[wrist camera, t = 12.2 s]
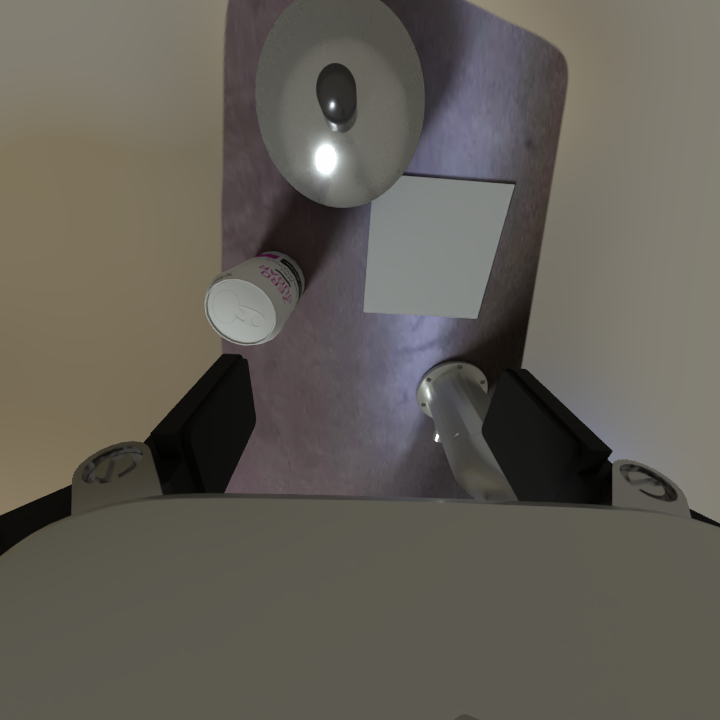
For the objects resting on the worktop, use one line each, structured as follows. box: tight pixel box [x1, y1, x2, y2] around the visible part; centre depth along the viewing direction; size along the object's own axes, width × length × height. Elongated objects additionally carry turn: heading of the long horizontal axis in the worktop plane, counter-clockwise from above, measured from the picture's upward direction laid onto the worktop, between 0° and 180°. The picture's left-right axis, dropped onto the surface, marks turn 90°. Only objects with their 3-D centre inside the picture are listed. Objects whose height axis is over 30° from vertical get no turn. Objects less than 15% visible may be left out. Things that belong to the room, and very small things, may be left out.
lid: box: [255, 0, 425, 208], centre depth 25 cm, size 16×16×6 cm
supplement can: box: [204, 251, 305, 345], centre depth 34 cm, size 8×8×15 cm
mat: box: [363, 176, 515, 319], centre depth 39 cm, size 18×18×1 cm
